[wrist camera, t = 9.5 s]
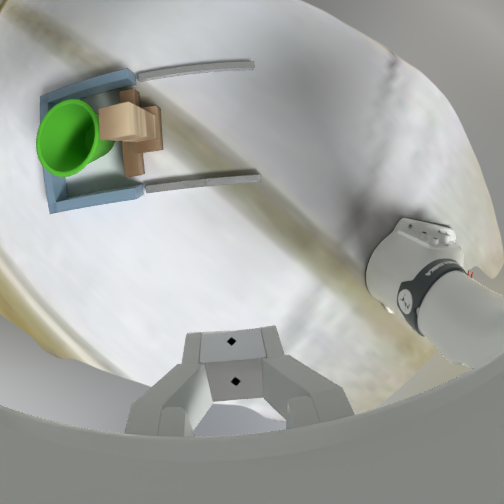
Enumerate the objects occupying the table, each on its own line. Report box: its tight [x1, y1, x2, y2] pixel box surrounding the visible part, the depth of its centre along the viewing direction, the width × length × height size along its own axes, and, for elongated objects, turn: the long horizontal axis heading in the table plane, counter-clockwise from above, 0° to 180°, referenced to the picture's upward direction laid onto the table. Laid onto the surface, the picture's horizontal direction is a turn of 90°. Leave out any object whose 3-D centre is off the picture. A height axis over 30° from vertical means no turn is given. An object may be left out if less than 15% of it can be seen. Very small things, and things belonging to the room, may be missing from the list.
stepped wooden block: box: [99, 89, 163, 178], centre depth 28 cm, size 5×12×15 cm, turn 3°
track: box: [138, 61, 261, 193], centre depth 35 cm, size 16×18×1 cm
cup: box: [36, 99, 115, 177], centre depth 29 cm, size 9×9×11 cm
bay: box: [40, 68, 144, 214], centre depth 32 cm, size 14×18×4 cm
